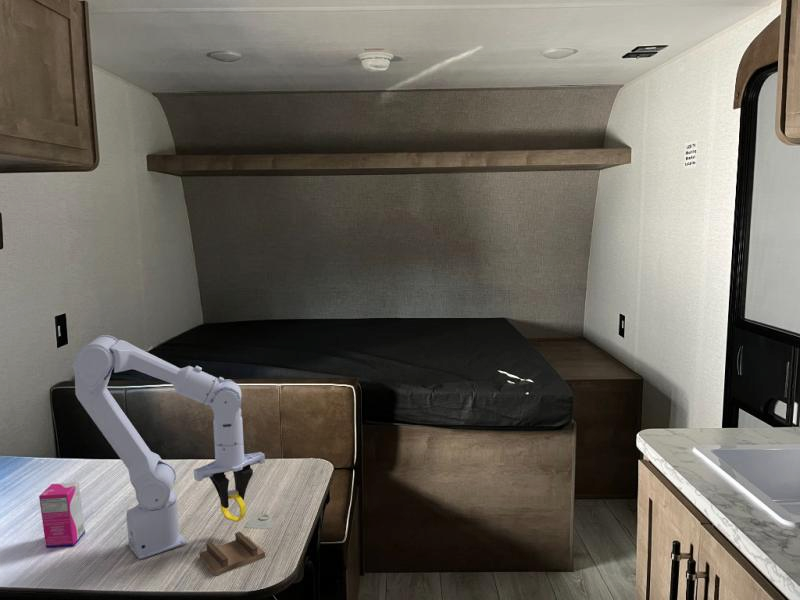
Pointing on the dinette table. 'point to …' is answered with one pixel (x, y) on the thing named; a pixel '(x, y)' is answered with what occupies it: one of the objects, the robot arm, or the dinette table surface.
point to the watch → (240, 502)
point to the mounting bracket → (260, 522)
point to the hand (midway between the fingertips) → (232, 504)
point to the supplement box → (62, 515)
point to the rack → (231, 554)
